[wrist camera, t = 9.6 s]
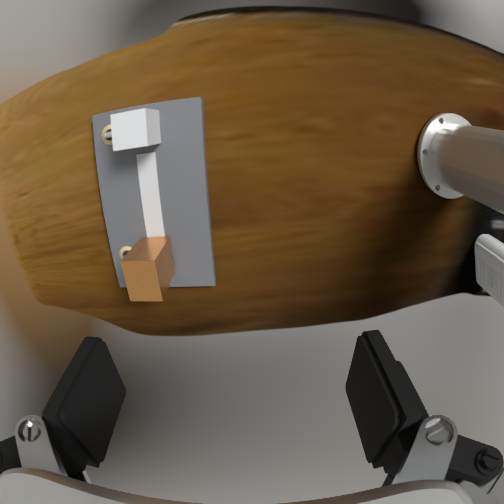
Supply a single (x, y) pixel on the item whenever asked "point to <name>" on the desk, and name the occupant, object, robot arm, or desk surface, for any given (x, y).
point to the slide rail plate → (157, 184)
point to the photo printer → (490, 266)
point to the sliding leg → (149, 269)
